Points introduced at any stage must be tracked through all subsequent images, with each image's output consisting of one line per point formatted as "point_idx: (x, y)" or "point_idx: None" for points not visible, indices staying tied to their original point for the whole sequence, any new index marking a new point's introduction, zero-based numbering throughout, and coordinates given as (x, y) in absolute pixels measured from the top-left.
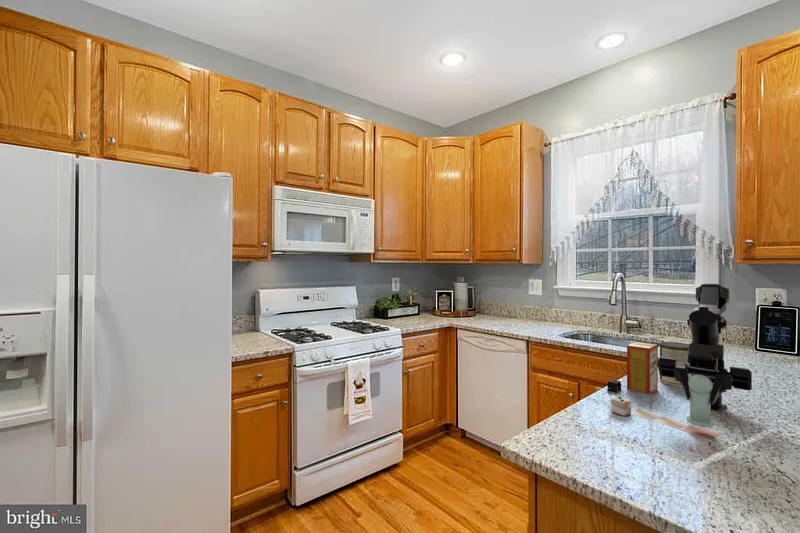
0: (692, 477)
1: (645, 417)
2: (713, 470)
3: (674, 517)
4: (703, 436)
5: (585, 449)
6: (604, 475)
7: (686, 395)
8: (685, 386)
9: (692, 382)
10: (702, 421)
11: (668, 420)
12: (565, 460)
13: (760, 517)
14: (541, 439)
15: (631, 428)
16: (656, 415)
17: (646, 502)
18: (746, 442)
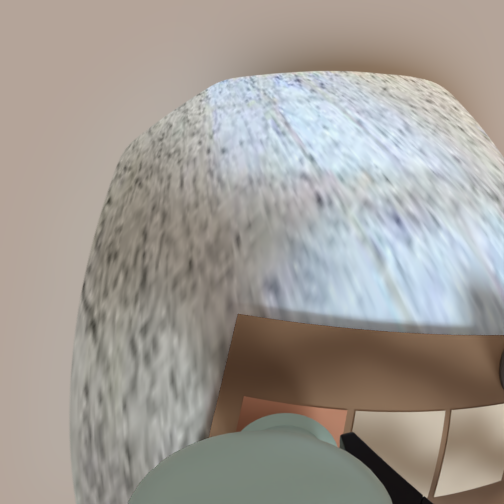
0: (234, 154)
1: (469, 414)
2: (206, 208)
3: (231, 82)
4: (264, 412)
5: (400, 120)
6: (326, 87)
7: (362, 440)
8: (400, 492)
9: (331, 453)
10: (264, 429)
11: (407, 470)
12: (380, 87)
13: (152, 136)
14: (449, 112)
15: (452, 298)
16: (451, 476)
17: (262, 80)
18: None
